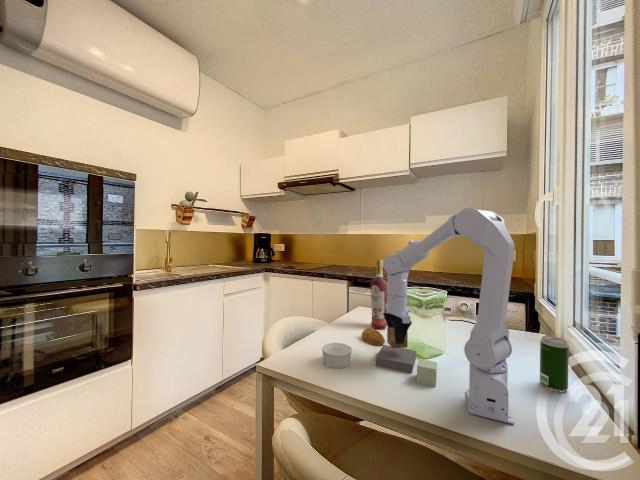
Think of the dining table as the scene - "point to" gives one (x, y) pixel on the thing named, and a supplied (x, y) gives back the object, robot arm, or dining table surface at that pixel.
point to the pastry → (373, 336)
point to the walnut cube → (392, 341)
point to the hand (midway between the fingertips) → (396, 339)
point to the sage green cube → (427, 372)
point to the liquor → (379, 298)
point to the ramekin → (336, 355)
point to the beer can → (554, 363)
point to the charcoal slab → (396, 359)
